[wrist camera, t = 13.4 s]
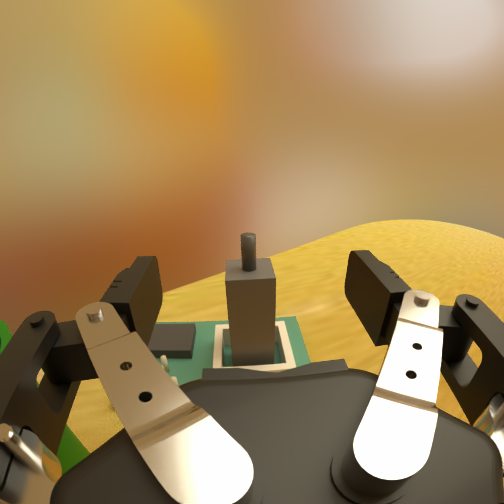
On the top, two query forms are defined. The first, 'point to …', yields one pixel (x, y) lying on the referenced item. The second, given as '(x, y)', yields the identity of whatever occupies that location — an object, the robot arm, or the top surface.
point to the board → (218, 348)
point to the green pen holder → (69, 446)
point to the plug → (251, 306)
